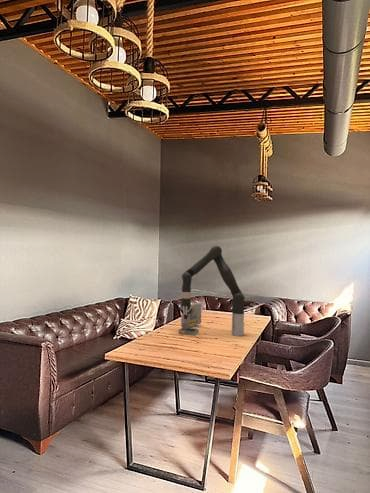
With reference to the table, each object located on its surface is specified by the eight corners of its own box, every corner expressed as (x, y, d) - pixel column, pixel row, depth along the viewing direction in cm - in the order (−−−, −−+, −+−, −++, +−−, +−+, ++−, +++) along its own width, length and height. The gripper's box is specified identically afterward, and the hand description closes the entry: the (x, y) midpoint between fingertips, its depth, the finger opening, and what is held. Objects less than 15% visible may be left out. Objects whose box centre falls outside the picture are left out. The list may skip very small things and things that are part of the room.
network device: (195, 324, 347) (195, 302, 347) (203, 326, 342) (204, 303, 342) (178, 329, 326) (179, 305, 326) (187, 330, 321) (188, 306, 321)
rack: (198, 333, 314) (198, 329, 314) (193, 335, 305) (193, 331, 305) (183, 331, 319) (183, 327, 319) (178, 333, 310) (178, 329, 310)
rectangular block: (188, 331, 315) (188, 322, 315) (185, 332, 309) (185, 323, 309) (184, 330, 316) (185, 322, 316) (181, 332, 311) (182, 323, 311)
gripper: (195, 297, 314) (195, 319, 314) (180, 296, 319) (179, 317, 319) (192, 298, 307) (191, 320, 307) (176, 297, 312) (176, 319, 312)
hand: (185, 319), depth 313 cm, fingers closed
